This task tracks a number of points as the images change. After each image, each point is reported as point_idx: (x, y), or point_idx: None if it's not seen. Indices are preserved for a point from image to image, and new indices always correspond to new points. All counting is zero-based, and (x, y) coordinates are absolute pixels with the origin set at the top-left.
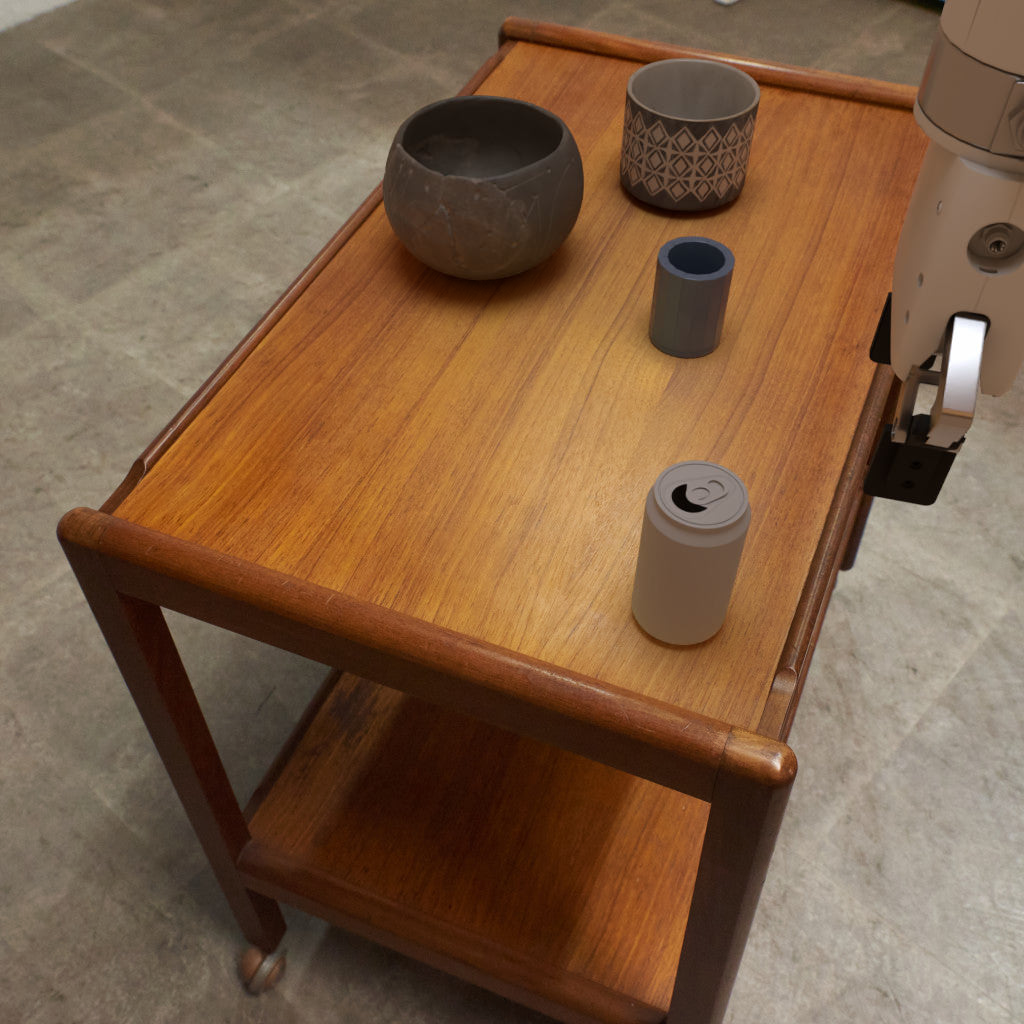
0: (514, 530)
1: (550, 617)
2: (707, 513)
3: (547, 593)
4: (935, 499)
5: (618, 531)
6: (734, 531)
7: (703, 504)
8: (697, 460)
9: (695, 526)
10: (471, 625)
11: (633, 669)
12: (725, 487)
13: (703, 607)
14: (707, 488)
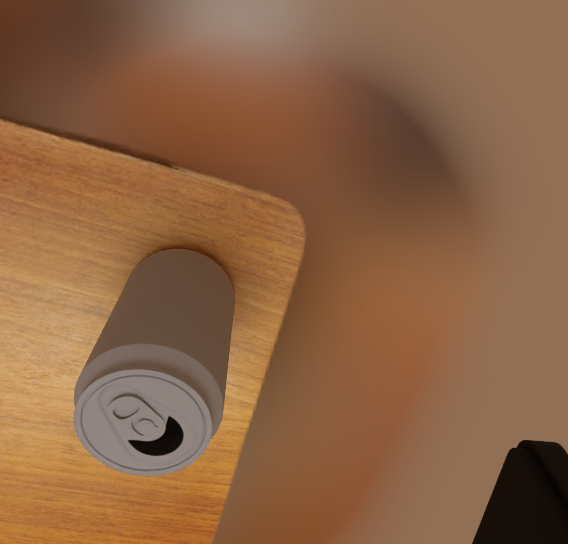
0: None
1: None
2: (180, 416)
3: None
4: (565, 454)
5: (79, 353)
6: (192, 371)
7: (162, 420)
8: (76, 431)
9: (209, 429)
10: (236, 459)
11: (264, 328)
12: (124, 399)
13: (226, 313)
14: (132, 420)
